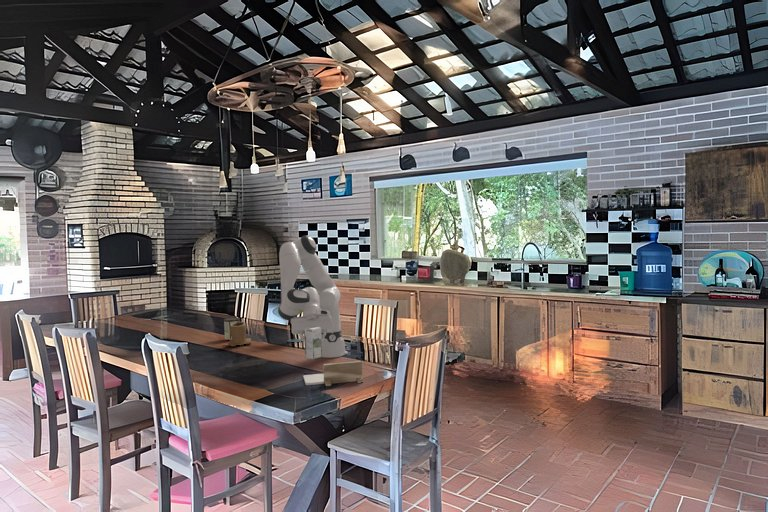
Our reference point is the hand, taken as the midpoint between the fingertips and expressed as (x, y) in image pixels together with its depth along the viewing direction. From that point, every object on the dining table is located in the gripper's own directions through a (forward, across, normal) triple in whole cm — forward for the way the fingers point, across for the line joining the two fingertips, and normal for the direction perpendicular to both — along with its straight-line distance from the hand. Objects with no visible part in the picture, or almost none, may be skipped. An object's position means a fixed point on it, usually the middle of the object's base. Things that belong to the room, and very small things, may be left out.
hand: (313, 339), depth 248 cm
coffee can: (-65, -50, +94) cm, 125 cm away
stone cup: (-51, -42, +80) cm, 104 cm away
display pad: (+14, 0, +14) cm, 20 cm away
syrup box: (+6, 0, +6) cm, 9 cm away
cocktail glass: (-52, -8, +81) cm, 97 cm away
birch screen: (+19, +13, +9) cm, 25 cm away
